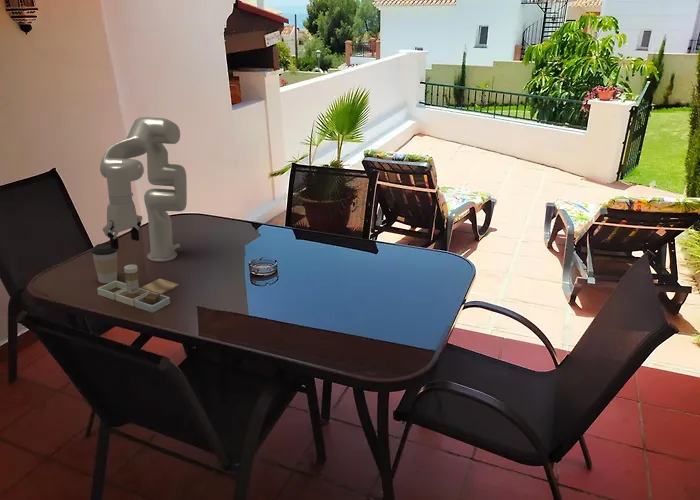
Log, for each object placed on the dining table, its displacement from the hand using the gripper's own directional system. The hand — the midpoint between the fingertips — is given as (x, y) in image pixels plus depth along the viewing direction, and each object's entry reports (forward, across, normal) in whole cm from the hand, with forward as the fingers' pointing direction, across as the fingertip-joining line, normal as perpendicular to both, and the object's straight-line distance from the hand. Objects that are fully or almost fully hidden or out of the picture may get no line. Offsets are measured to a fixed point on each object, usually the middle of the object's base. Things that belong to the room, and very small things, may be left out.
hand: (125, 244), depth 188 cm
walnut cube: (+22, +1, +11) cm, 25 cm away
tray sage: (+22, 0, -8) cm, 23 cm away
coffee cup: (+22, -7, -19) cm, 30 cm away
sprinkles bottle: (+22, 0, +2) cm, 22 cm away
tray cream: (+22, 0, +2) cm, 22 cm away
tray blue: (+22, +1, +11) cm, 24 cm away
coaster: (+22, -12, +3) cm, 25 cm away
